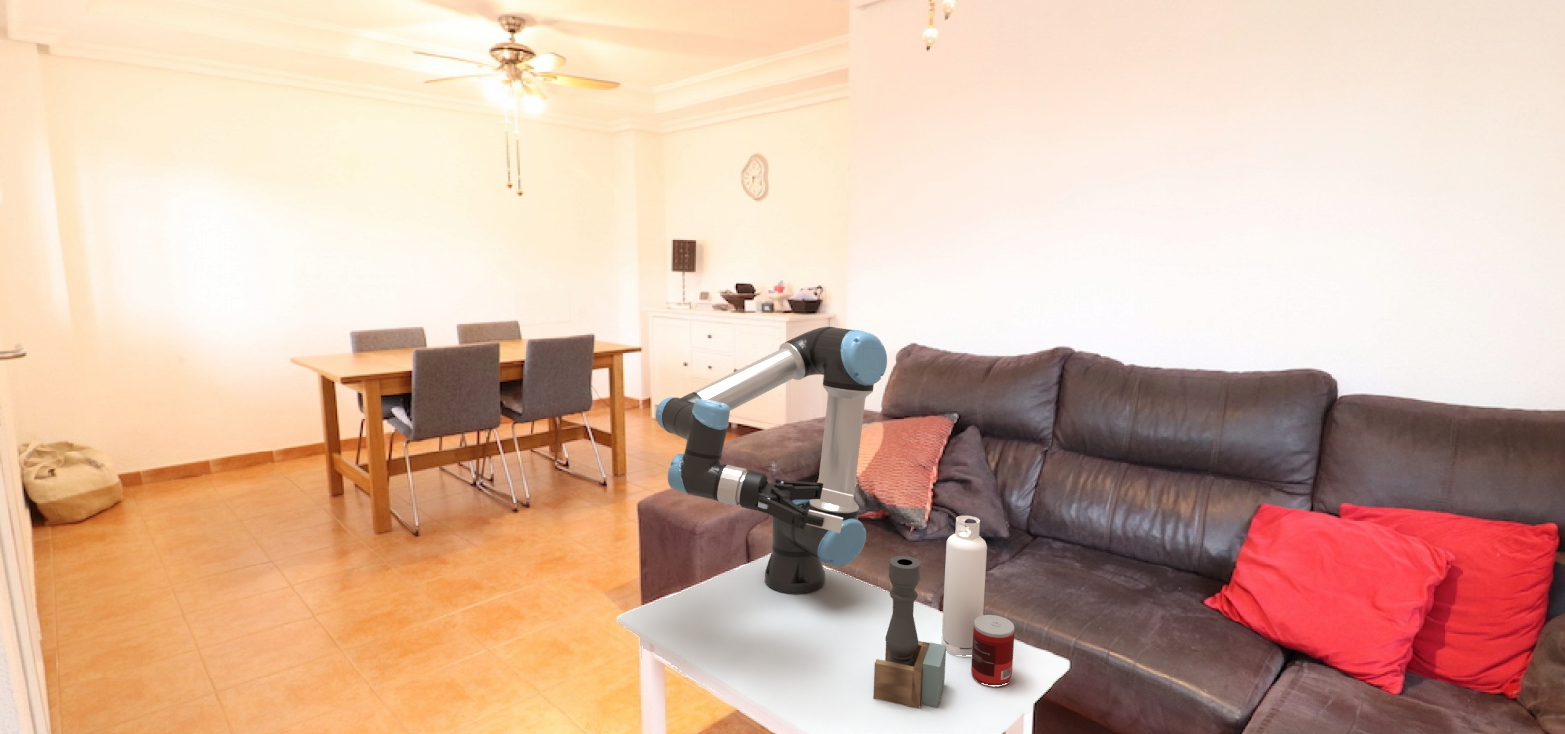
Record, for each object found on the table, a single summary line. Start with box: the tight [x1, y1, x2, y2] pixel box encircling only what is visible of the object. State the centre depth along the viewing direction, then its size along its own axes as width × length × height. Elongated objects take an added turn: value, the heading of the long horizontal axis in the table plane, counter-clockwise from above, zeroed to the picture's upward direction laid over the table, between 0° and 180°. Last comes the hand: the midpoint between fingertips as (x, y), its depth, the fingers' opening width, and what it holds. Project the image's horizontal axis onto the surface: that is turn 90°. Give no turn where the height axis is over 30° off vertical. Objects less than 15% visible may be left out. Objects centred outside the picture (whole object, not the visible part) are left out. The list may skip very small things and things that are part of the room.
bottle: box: [941, 515, 988, 656], centre depth 153 cm, size 8×8×28 cm
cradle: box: [872, 640, 930, 709], centre depth 139 cm, size 8×11×7 cm
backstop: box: [921, 642, 947, 709], centre depth 137 cm, size 3×8×8 cm, turn 159°
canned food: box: [970, 614, 1016, 685], centre depth 143 cm, size 8×8×11 cm
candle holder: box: [884, 555, 921, 667], centre depth 138 cm, size 6×6×25 cm
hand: (847, 513), depth 143 cm, fingers open, 13 cm apart
